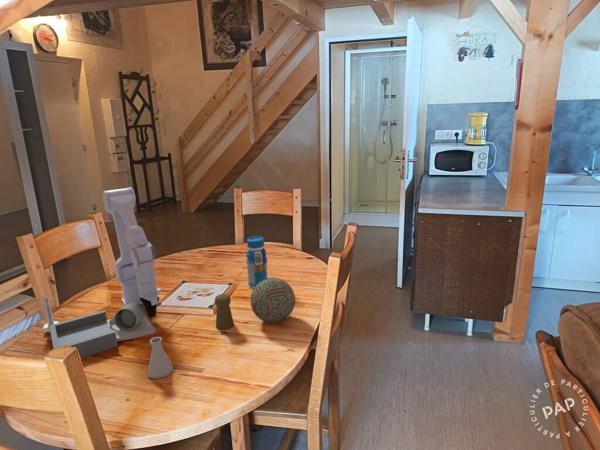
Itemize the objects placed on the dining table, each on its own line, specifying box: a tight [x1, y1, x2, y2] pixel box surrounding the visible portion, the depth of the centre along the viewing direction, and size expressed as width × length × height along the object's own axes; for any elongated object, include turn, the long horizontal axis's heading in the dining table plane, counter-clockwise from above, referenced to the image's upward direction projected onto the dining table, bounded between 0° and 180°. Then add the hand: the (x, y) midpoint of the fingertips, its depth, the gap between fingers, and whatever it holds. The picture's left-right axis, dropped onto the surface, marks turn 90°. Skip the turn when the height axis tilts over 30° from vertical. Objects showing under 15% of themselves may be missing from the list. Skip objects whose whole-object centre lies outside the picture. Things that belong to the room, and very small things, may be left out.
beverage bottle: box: [245, 235, 269, 289], centre depth 165 cm, size 8×8×20 cm
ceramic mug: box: [109, 303, 146, 331], centre depth 136 cm, size 11×8×8 cm
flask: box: [146, 336, 174, 380], centre depth 112 cm, size 7×7×10 cm
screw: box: [42, 295, 60, 334], centre depth 135 cm, size 13×5×5 cm
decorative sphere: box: [250, 277, 296, 324], centre depth 137 cm, size 15×15×15 cm
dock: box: [49, 310, 157, 359], centre depth 132 cm, size 18×29×6 cm, turn 125°
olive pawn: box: [214, 293, 235, 331], centre depth 135 cm, size 6×6×11 cm
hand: (152, 316), depth 140 cm, fingers closed
